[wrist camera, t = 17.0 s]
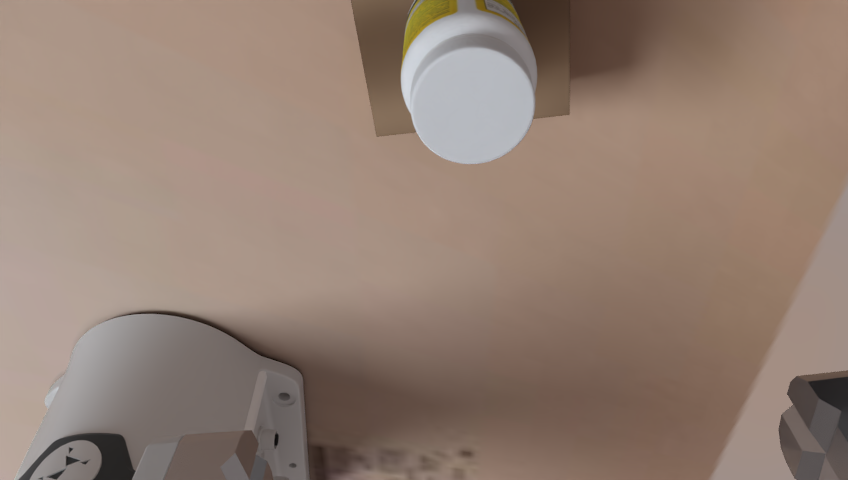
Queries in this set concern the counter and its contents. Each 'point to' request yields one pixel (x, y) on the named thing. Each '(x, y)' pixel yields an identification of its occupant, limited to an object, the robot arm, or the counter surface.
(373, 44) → the walnut block
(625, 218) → the counter surface
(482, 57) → the supplement bottle
